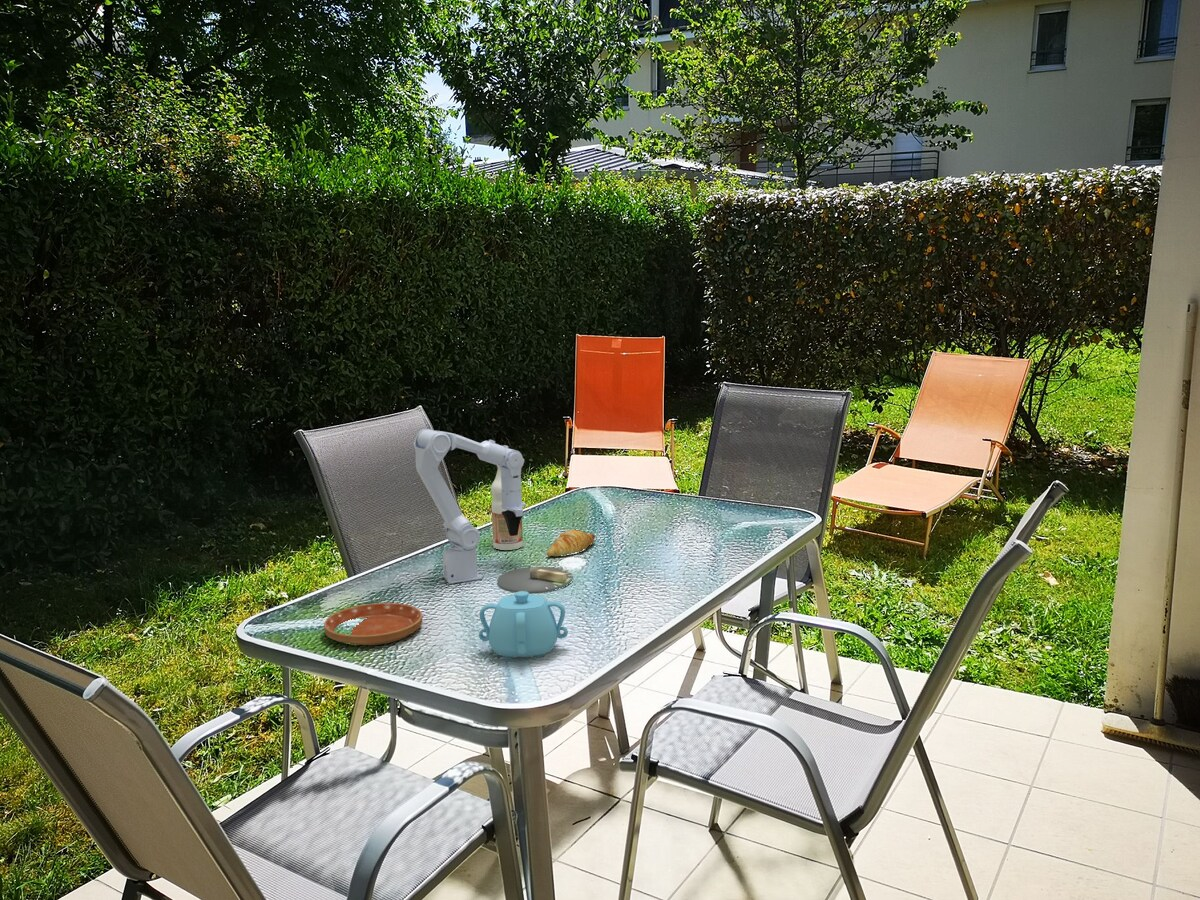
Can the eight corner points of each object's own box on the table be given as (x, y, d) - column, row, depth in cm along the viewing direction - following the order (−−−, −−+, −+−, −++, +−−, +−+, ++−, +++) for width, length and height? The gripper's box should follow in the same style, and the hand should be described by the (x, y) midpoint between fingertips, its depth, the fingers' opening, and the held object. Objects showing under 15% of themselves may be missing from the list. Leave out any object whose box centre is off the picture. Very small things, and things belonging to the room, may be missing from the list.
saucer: (383, 609, 233) (382, 595, 233) (442, 628, 219) (441, 614, 218) (305, 636, 216) (304, 621, 216) (364, 659, 202) (362, 643, 201)
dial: (510, 597, 239) (509, 594, 239) (488, 575, 258) (488, 572, 258) (584, 586, 247) (583, 583, 247) (557, 565, 266) (557, 562, 266)
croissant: (555, 571, 272) (563, 551, 268) (533, 552, 276) (540, 531, 273) (600, 553, 288) (608, 534, 284) (578, 535, 292) (586, 515, 289)
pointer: (528, 577, 252) (527, 569, 251) (534, 574, 254) (533, 566, 254) (562, 583, 246) (561, 574, 245) (567, 580, 248) (567, 572, 248)
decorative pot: (532, 631, 215) (530, 576, 213) (574, 650, 203) (572, 592, 201) (474, 650, 205) (471, 592, 203) (514, 671, 193) (511, 610, 190)
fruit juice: (487, 547, 287) (482, 461, 282) (510, 541, 293) (506, 456, 288) (505, 553, 280) (501, 464, 275) (529, 547, 286) (525, 460, 281)
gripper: (532, 493, 258) (534, 539, 260) (517, 483, 271) (519, 527, 273) (508, 495, 255) (510, 542, 257) (494, 486, 268) (496, 530, 270)
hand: (513, 535), depth 265 cm, fingers closed
